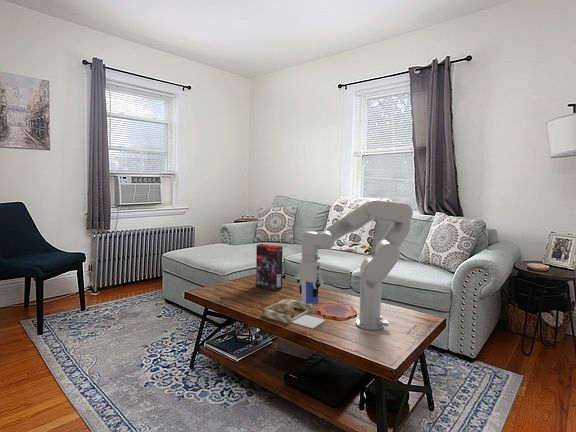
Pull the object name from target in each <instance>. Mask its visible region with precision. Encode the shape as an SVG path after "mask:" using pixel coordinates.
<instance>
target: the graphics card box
mask: <svg viewBox="0 0 576 432" xmlns="http://www.w3.org/2000/svg"><path fill="white" fill-rule="evenodd" d="M283 249H284V247H283V246H282V245H275V244H268V243H259V244H257V245H256V254H255V255H256V259H255V261H256V264H255V265H256V266H255V267H256V271H255V272H256V274H255V275H256V276H255V280H256V281H255V286H256V287H259V288H264V289H267V290H273V291H279V290H281V289H283Z"/></svg>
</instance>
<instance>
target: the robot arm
mask: <svg viewBox="0 0 576 432" xmlns="http://www.w3.org/2000/svg"><path fill="white" fill-rule="evenodd" d="M413 213H414V212H413V209H412V207H411V206H410V204H408V203H404V202H395V201H387V200H381V199H378V198H377V199H376V198H371V199H369V200H367V201H365V202H364V203H362V204H361V205H359V206H358V207H357V208H355V209H354V210H352V211H351V212H349V213H348V214H346V215H345V216H343V217H342V218H340V219H339V220H337V221H336V222H334V223H333V224H331V225H330V226H328V227H327V228H325V229H324V230H322V231H321V232H320V233H318V232H316V231H304V232H303V233H302V238H301V240H302V241H301V259H300V262H299V265H298V273H296V275H294V278H295V280H296V282H297V283H298V286H299V295H302V286H301V281H302V279H306V281H307V282H310V283H313V286H314V289H313V297H316V295H318V296H319V288H320V287H321V286H322V285H323V284H324V283H325V280H323V278H322V277H321V274H322V273H321V264H320V261H319V260H321V257H320V256H319V249H323V250H329V249H331V248H333V247H334V245H335V243H336V241H337V240H339V239H341V238H342V237H344V236H346V235H347V234H350V233H351V234H352V233H354V232H357V231H358V230H360V229H361V228H363V227H364V226H366V225H367V224H369V223H370V222H372V221H373V220H378V221H379V220H380V221H385V222H390V223H391V224H390V226H389V227H388V229H387V231H386V232H385V234H384V235H383V236H382V237H381V239H379V241H378V243H377V244H376V245H375V249H374V251H375V254H374V255H373V257H367V258H365V259H364V260H363V261H362V262H361V265H360V268H359V270H360V272H359V273H360V289H359V290H360V293H359V318H357V319H356V321H355V325H356V326H357V327H359V328H360V329H363V330H369V331H370V330H371V331H376V330H381V329H382V328H384V327H389V324H390V323H389V321H388V320H386V319H383V315H381V307H382V306H381V305H382V303H381V301H382V282H383V281H384V280H385V279H386V278H387V277H388V275H389V273H390V272H391V271H392V270H393V268H394V267H395V266H396V265H397V263H398V261H399V259H400V257H401V250H400V247H401V246H402V244H403V243H404V241H405V240H406V238H407V236H408V235H409V233H410V229H411V219H412V217H413ZM317 279H318V284H317V285H316V284H315V283H317V282H316V281H317Z"/></svg>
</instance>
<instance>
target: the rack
mask: <svg viewBox="0 0 576 432" xmlns="http://www.w3.org/2000/svg"><path fill="white" fill-rule="evenodd" d="M284 300H291V301H293V308H296V309H298V310H303V312H301V313H299V314H297V315H294V317H293V318H291V316H290V315H286V314H282V313H279V312H277V310H278V303H279V302H280V301H278V302H276V303H274V304H272V305H268V306H267V307H265V308H262V317H263V318H264V317H265V318H267V319H271V320H275V321H279V322H282V323H284V324H285V323H286V324H292V323H291V322H292V321H294V320H296V319H298V318H299V317H301V316H303V315H308V314H309V313H312V312H313V305H314V304H302V301H300V300H295V299H292V298H284Z"/></svg>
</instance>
